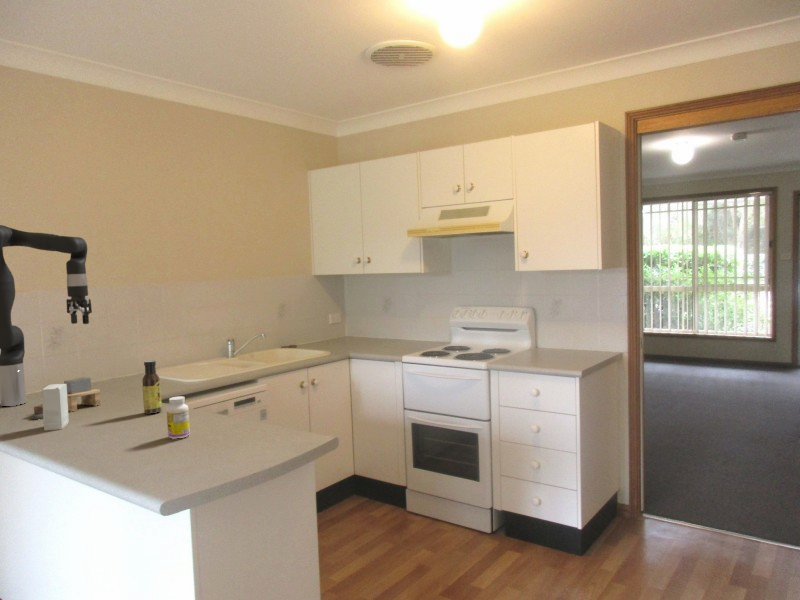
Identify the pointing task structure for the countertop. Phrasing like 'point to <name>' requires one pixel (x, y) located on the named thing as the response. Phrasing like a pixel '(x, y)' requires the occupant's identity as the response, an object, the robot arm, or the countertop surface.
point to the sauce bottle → (151, 389)
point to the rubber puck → (37, 416)
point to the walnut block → (38, 409)
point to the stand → (84, 399)
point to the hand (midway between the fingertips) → (80, 323)
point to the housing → (78, 385)
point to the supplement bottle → (178, 418)
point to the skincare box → (55, 406)
